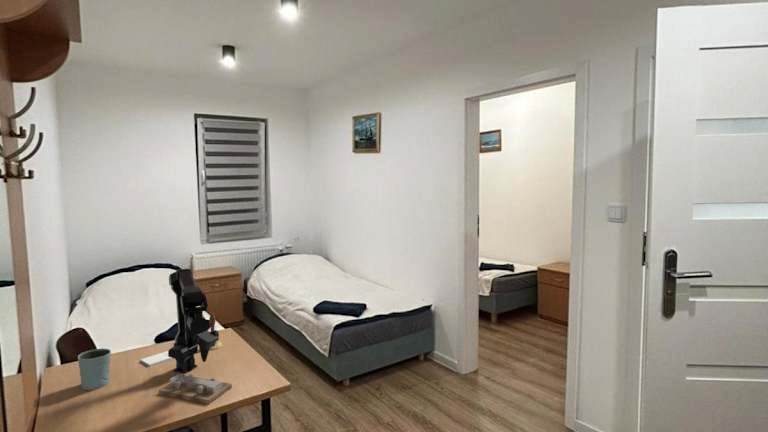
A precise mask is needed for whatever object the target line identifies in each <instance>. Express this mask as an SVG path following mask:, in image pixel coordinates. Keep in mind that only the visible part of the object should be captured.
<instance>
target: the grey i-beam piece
mask: <svg viewBox="0 0 768 432" xmlns="http://www.w3.org/2000/svg"><path fill="white" fill-rule="evenodd" d="M188 376H189V375H187V376H186V374H183V373H177V374H176V375H174V376H173V377H171V378H169V384H170V386H175V382H177V381H180V386H181V387H186V388H191V389H196V390H198V386H203V391H206V392H207V393H209V394H215V393H216V392H218V391H219V390H221V389H222V382H223V381H220V380H215V381H209V380H210V379H208V380H204V379H205V378H202V379H199V378H200V377H197V378H193V377H188Z"/></svg>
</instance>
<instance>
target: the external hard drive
mask: <svg viewBox="0 0 768 432" xmlns="http://www.w3.org/2000/svg"><path fill="white" fill-rule="evenodd" d="M168 351H169V350H167V351H164V352H160V353H157V354H153V355H151V356H150V355H149V356H148V357H144V358H141V359H139V362H140V363H141V364H143V365H144V366H146V367H149V368H151V367H153V366H156V365H159V364H162V363H165V362H169V361H171V360H174V359H175V358H172V357H168Z"/></svg>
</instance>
